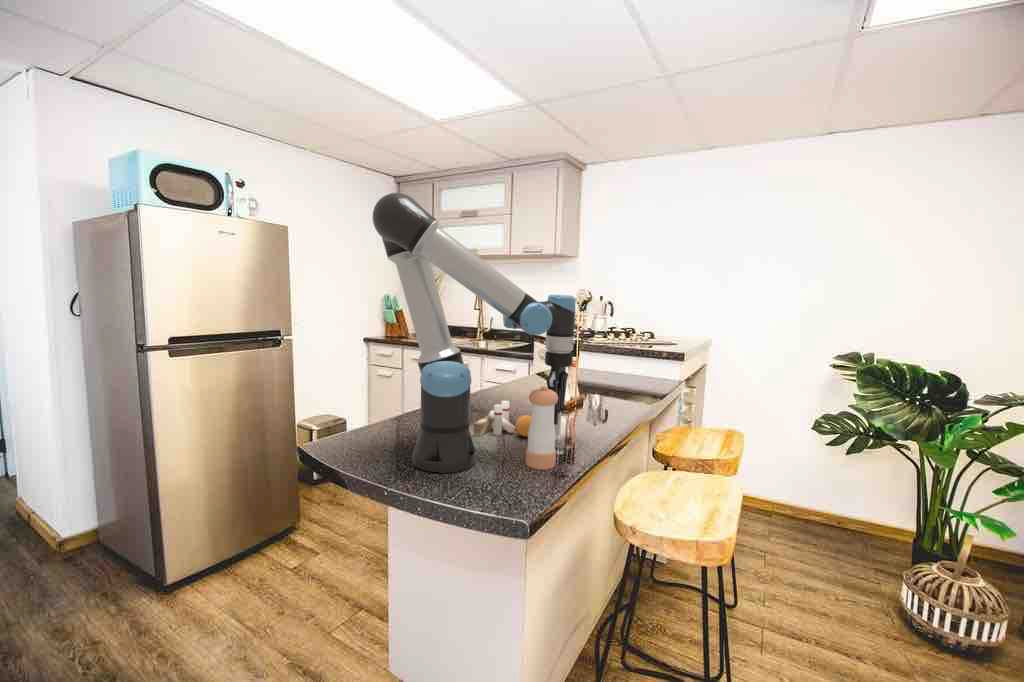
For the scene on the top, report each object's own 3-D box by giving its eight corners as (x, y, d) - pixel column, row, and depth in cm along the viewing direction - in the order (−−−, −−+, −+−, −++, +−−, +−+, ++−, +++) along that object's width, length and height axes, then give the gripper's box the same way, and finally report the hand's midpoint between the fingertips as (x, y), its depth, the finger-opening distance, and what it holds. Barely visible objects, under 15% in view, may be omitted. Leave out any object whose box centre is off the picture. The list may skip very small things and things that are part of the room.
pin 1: (495, 435, 127) (496, 407, 126) (491, 433, 129) (492, 404, 128) (503, 434, 128) (504, 406, 127) (498, 432, 131) (499, 403, 130)
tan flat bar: (479, 436, 126) (479, 424, 126) (473, 435, 127) (473, 423, 126) (499, 423, 139) (500, 412, 138) (494, 422, 140) (494, 411, 139)
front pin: (511, 431, 128) (487, 414, 130) (509, 435, 130) (486, 418, 132) (516, 425, 129) (492, 408, 132) (514, 429, 131) (491, 412, 134)
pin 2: (503, 431, 132) (504, 403, 131) (498, 428, 134) (499, 401, 133) (510, 429, 133) (511, 402, 132) (505, 427, 135) (506, 400, 134)
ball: (514, 421, 124) (522, 441, 124) (534, 412, 125) (541, 432, 125) (510, 419, 130) (518, 438, 130) (529, 411, 131) (536, 430, 131)
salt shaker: (519, 464, 107) (522, 386, 105) (536, 455, 113) (539, 381, 111) (544, 472, 103) (548, 391, 101) (561, 463, 109) (565, 386, 107)
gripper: (565, 355, 114) (561, 443, 117) (578, 349, 126) (573, 429, 129) (538, 352, 117) (534, 439, 120) (553, 347, 129) (549, 426, 132)
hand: (554, 434), depth 125 cm, fingers closed
